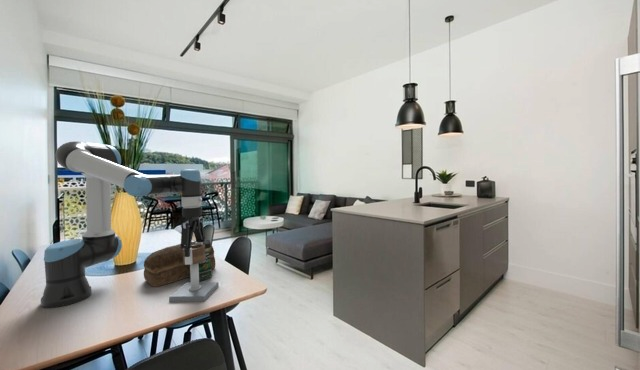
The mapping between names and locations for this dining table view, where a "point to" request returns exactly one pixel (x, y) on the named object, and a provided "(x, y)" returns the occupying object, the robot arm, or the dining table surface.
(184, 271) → the bread
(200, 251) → the ring
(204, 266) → the coffee jar
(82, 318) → the dining table surface
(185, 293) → the post block
